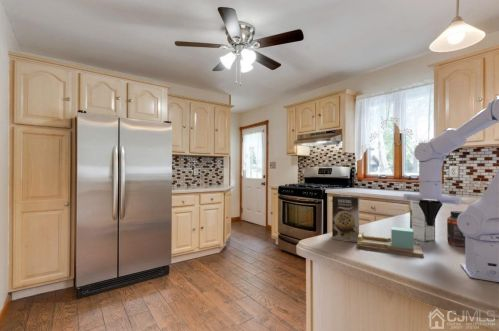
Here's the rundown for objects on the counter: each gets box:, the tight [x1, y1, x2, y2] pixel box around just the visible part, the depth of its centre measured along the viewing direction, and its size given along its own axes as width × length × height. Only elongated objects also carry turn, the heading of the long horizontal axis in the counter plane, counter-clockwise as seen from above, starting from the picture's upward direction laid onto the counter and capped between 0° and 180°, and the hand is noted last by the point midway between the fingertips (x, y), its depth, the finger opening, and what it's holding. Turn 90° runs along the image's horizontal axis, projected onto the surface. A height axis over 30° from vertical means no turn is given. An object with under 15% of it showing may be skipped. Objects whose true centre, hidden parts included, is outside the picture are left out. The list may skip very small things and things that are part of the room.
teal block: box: [390, 226, 415, 249], centre depth 82 cm, size 4×6×6 cm
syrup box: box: [409, 199, 436, 242], centre depth 93 cm, size 6×6×14 cm
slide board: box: [357, 230, 425, 259], centre depth 84 cm, size 12×18×4 cm, turn 61°
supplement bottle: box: [446, 210, 465, 248], centre depth 87 cm, size 6×6×11 cm
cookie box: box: [331, 194, 360, 243], centre depth 94 cm, size 9×6×16 cm
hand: (430, 225), depth 78 cm, fingers closed
